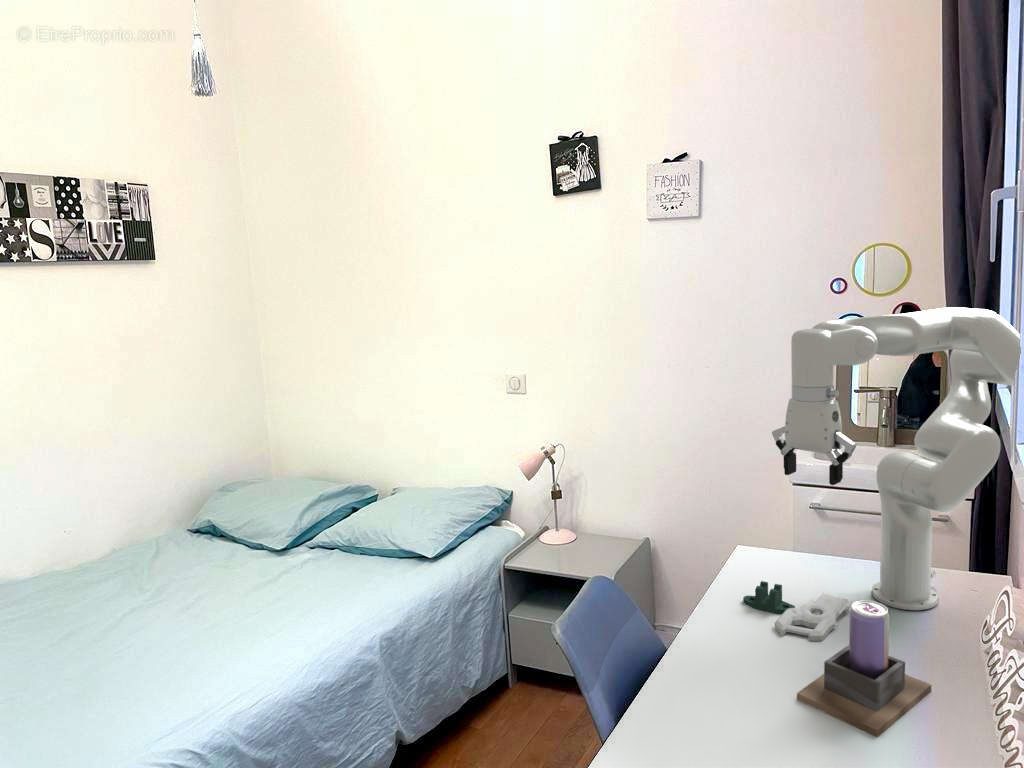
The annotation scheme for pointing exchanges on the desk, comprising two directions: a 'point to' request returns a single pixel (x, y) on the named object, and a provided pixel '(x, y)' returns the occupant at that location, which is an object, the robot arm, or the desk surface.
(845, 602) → the grey mechanical plate
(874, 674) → the beverage can
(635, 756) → the desk surface
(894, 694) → the can dock
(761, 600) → the mount
